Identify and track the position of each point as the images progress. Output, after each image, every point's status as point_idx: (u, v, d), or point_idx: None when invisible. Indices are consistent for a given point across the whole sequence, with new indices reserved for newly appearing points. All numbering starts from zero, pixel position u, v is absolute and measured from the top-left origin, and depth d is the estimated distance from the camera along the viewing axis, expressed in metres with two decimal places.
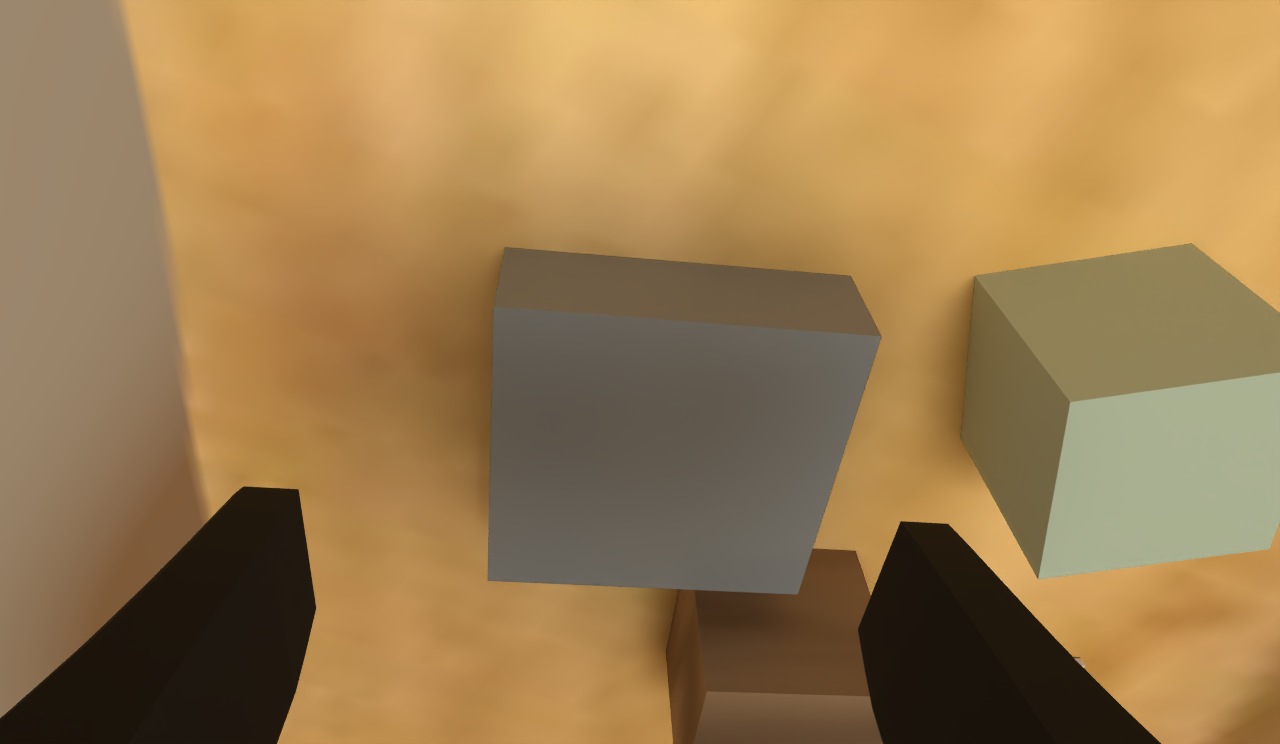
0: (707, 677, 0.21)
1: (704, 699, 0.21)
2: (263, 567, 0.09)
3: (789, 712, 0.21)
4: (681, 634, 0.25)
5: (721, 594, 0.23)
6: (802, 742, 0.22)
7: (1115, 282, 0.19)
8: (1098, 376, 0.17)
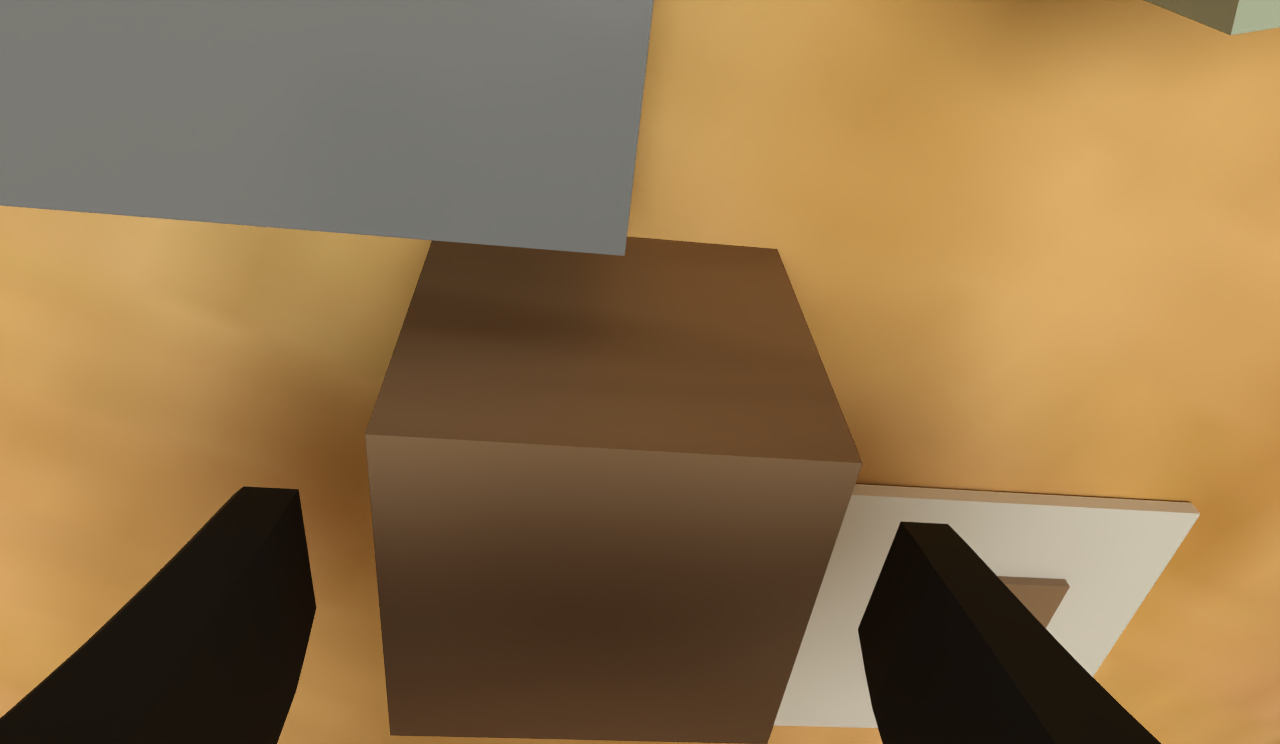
0: (380, 409, 0.09)
1: (368, 461, 0.09)
2: (264, 567, 0.09)
3: (587, 503, 0.09)
4: None
5: (476, 287, 0.11)
6: (632, 590, 0.10)
7: None
8: None
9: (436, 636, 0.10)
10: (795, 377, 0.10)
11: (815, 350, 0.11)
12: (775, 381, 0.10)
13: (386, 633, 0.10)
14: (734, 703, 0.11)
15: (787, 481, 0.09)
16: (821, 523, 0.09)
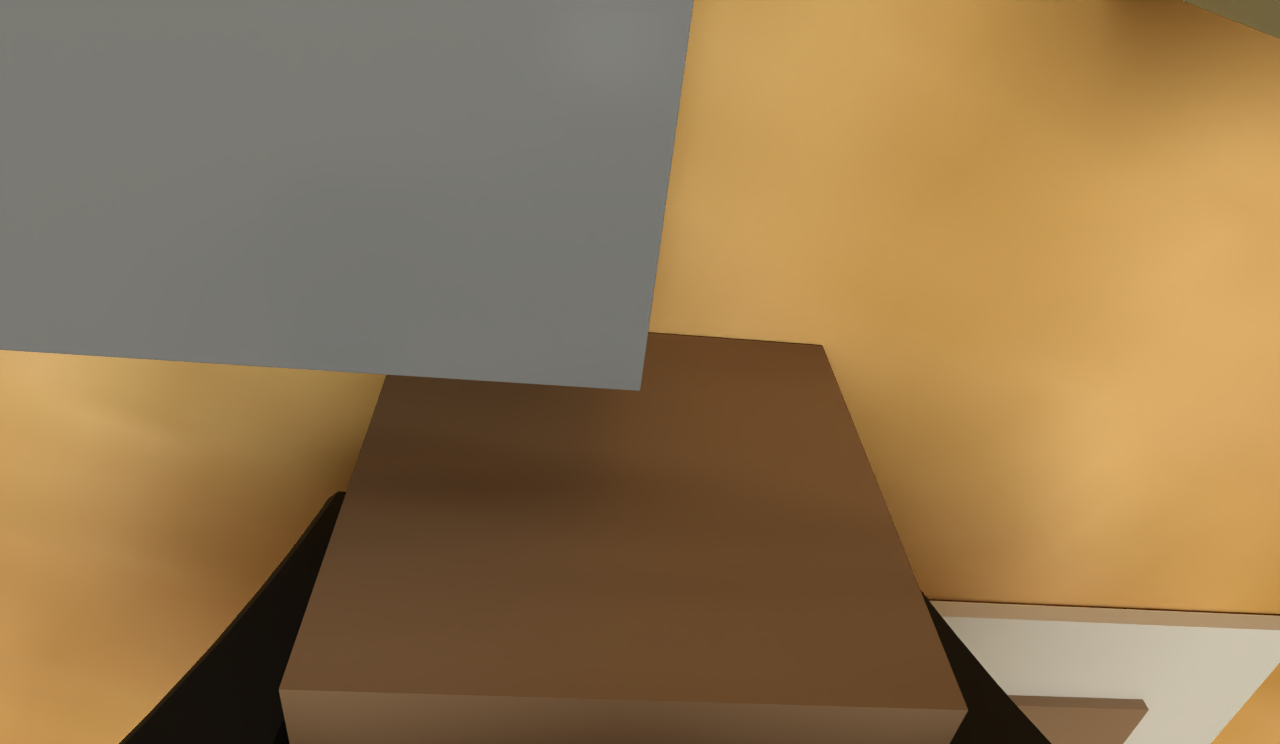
0: (304, 641, 0.06)
1: (286, 717, 0.06)
2: None
3: None
4: None
5: (447, 423, 0.08)
6: None
7: None
8: None
9: None
10: (864, 557, 0.08)
11: (885, 510, 0.08)
12: (838, 567, 0.07)
13: None
14: None
15: (865, 731, 0.07)
16: None
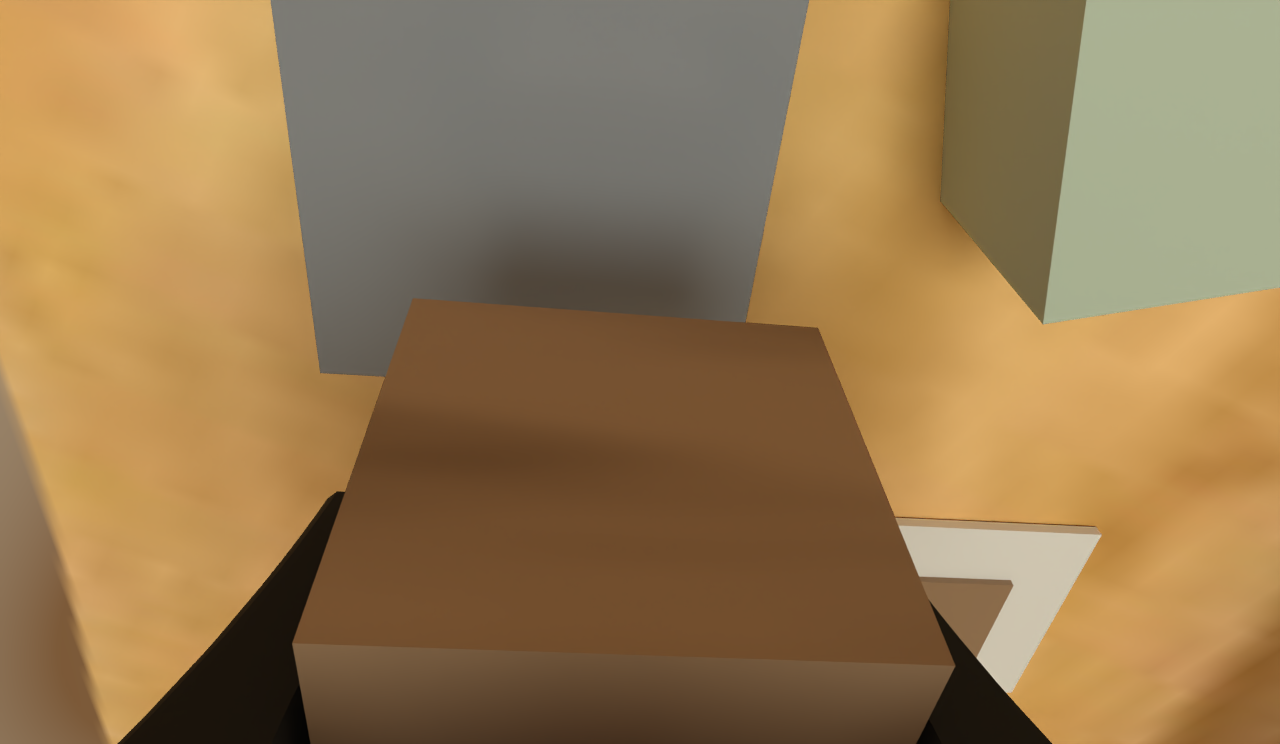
0: (316, 599, 0.07)
1: (300, 671, 0.06)
2: None
3: (591, 713, 0.07)
4: None
5: (453, 399, 0.09)
6: None
7: None
8: None
9: None
10: (856, 524, 0.08)
11: (877, 481, 0.08)
12: (831, 533, 0.08)
13: None
14: None
15: (857, 687, 0.07)
16: (896, 730, 0.07)
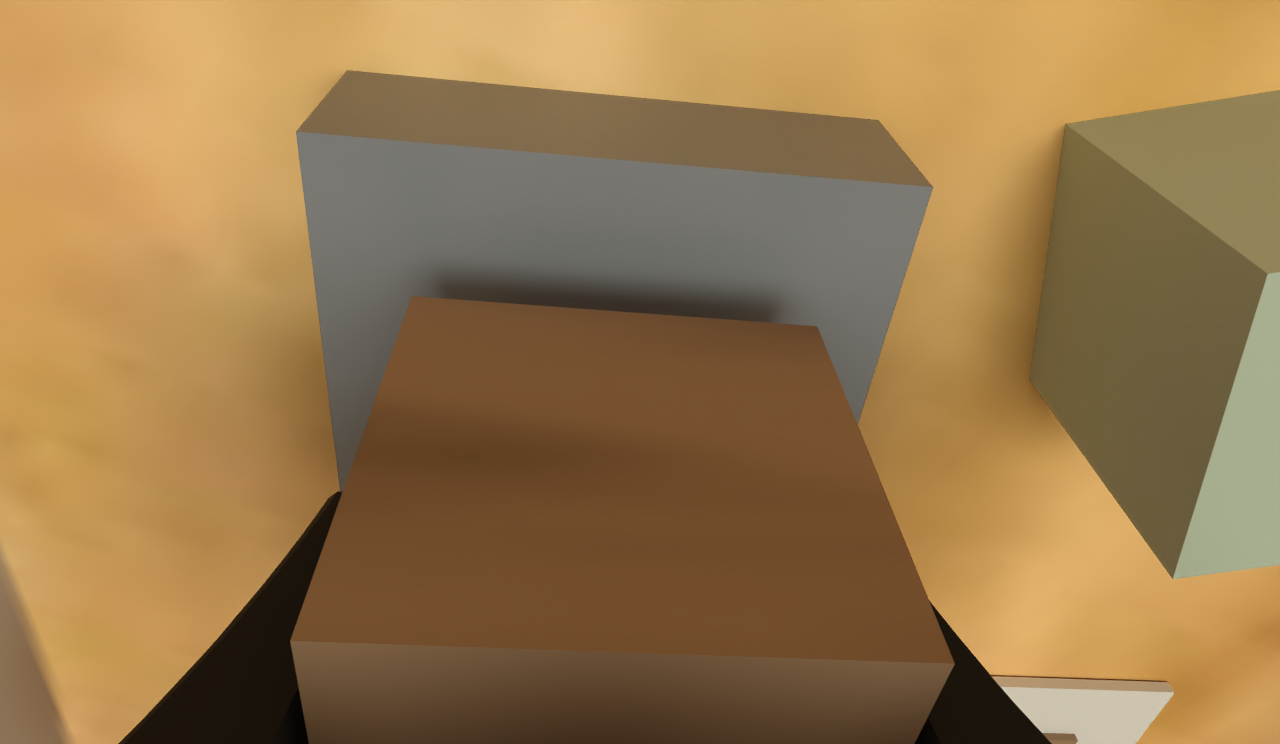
0: (314, 597, 0.07)
1: (297, 669, 0.06)
2: None
3: (589, 711, 0.07)
4: None
5: (452, 396, 0.09)
6: None
7: None
8: None
9: None
10: (855, 522, 0.08)
11: (877, 479, 0.08)
12: (829, 532, 0.08)
13: None
14: None
15: (855, 685, 0.07)
16: (895, 728, 0.07)
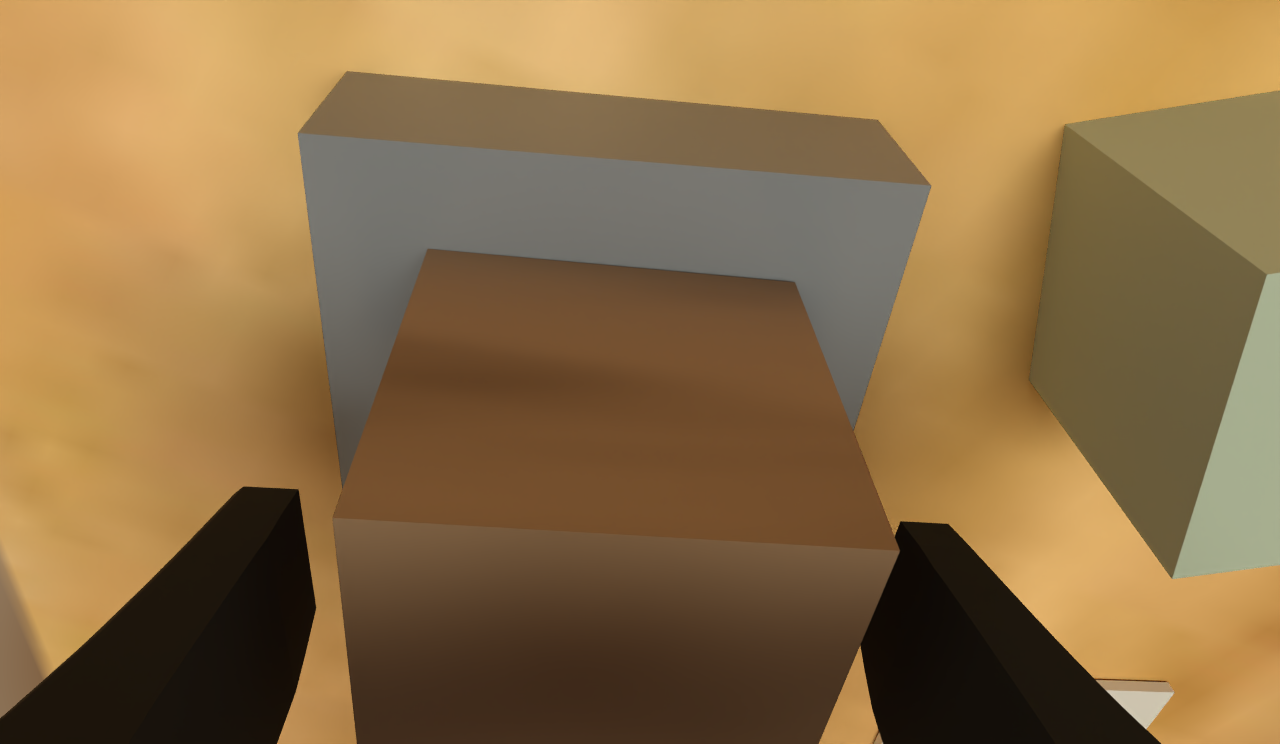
0: (351, 486, 0.08)
1: (337, 546, 0.07)
2: (265, 566, 0.09)
3: (586, 590, 0.08)
4: None
5: (465, 332, 0.10)
6: (636, 681, 0.09)
7: None
8: None
9: (416, 726, 0.09)
10: (820, 441, 0.09)
11: (841, 408, 0.10)
12: (798, 447, 0.09)
13: (360, 723, 0.09)
14: None
15: (815, 569, 0.08)
16: (850, 613, 0.08)
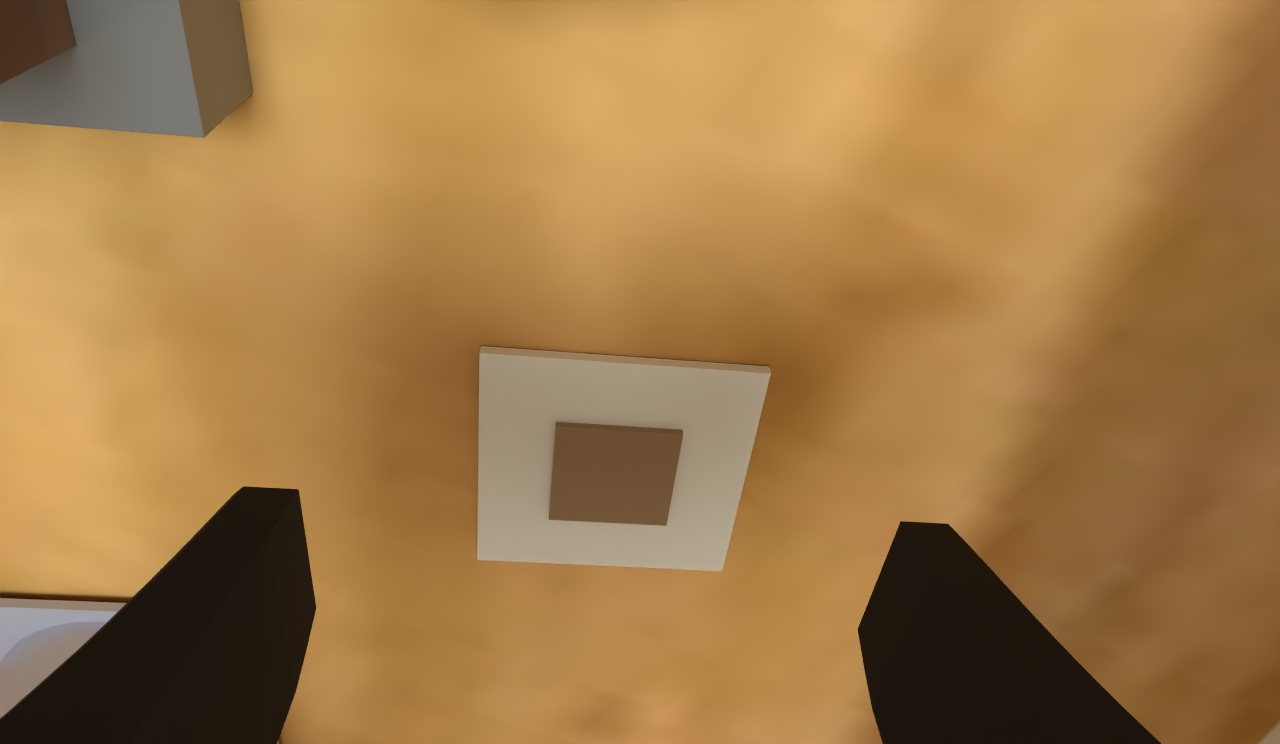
0: None
1: None
2: (263, 566, 0.09)
3: None
4: None
5: None
6: None
7: None
8: None
9: None
10: None
11: None
12: None
13: None
14: None
15: None
16: None
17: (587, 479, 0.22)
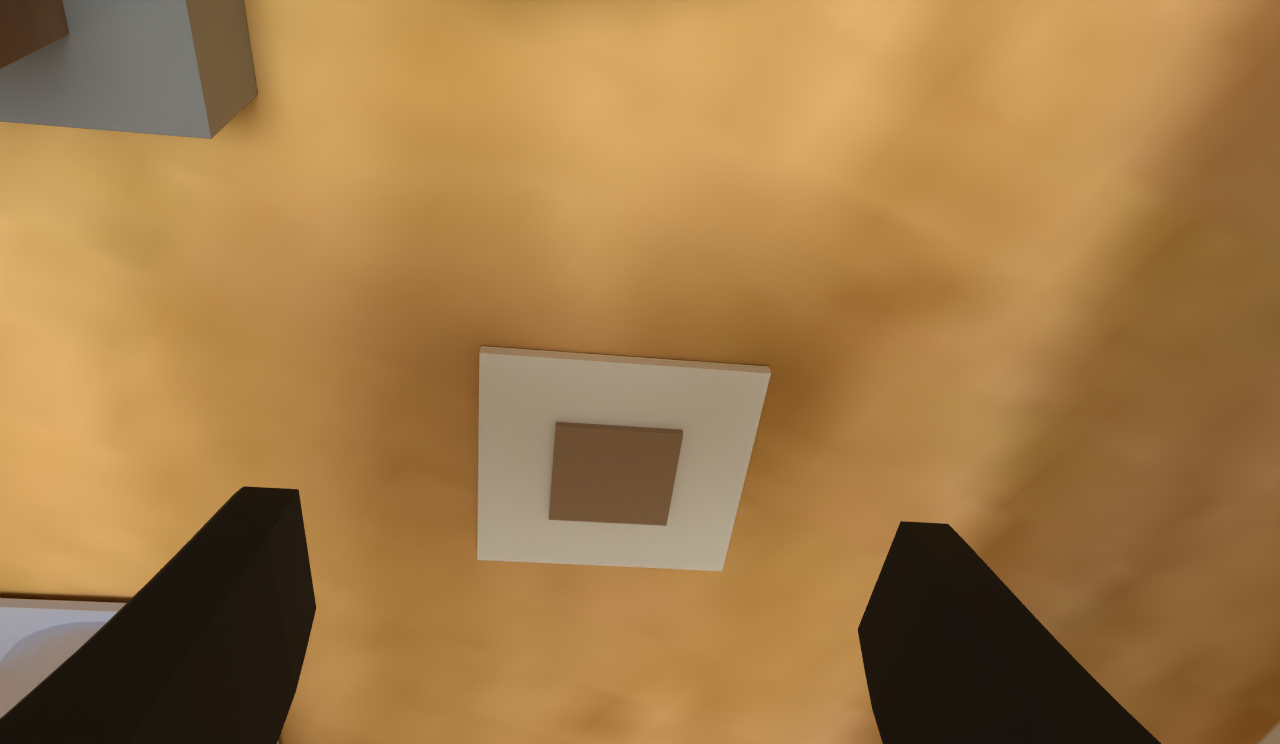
0: None
1: None
2: (263, 566, 0.09)
3: None
4: None
5: None
6: None
7: None
8: None
9: None
10: None
11: None
12: None
13: None
14: None
15: None
16: None
17: (587, 479, 0.22)
